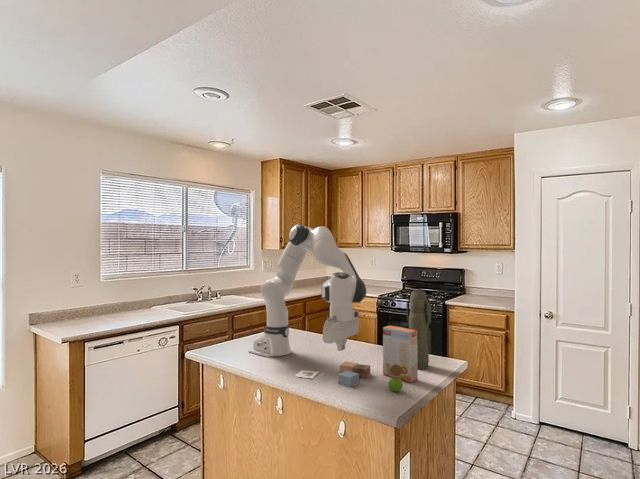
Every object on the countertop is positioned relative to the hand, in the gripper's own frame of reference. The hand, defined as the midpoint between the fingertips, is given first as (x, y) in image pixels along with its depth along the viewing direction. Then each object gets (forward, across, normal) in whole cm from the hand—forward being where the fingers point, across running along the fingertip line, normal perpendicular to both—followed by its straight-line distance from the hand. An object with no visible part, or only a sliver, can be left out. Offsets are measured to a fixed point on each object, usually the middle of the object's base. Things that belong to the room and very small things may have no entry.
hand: (341, 350), depth 151 cm
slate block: (+16, +8, +2) cm, 18 cm away
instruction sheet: (+15, +5, +22) cm, 27 cm away
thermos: (+16, +45, -13) cm, 49 cm away
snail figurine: (+16, +11, -17) cm, 26 cm away
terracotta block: (+16, +18, +8) cm, 26 cm away
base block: (+16, +19, +2) cm, 24 cm away
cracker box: (+16, +26, -12) cm, 33 cm away
